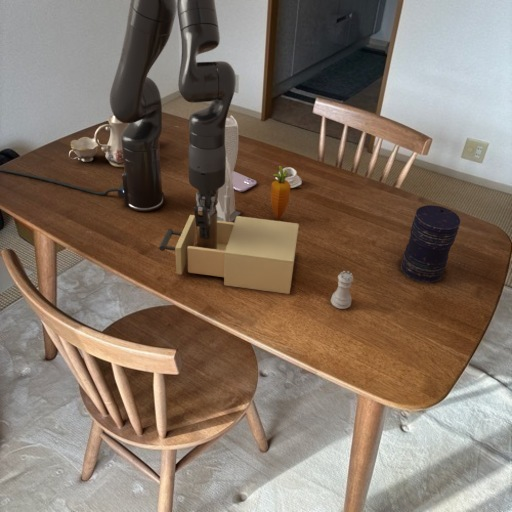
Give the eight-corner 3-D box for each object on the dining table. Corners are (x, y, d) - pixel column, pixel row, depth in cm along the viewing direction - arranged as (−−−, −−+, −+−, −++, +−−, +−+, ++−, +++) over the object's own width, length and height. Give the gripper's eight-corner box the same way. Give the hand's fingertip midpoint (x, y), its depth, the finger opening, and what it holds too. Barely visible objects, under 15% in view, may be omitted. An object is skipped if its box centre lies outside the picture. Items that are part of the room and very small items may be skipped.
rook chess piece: (328, 296, 116) (333, 267, 111) (348, 296, 116) (354, 267, 111) (332, 310, 112) (338, 281, 107) (353, 310, 113) (359, 281, 108)
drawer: (155, 271, 118) (153, 244, 114) (171, 237, 129) (170, 212, 124) (236, 281, 116) (237, 255, 112) (245, 247, 127) (246, 221, 123)
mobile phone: (220, 164, 160) (258, 180, 153) (220, 166, 161) (258, 183, 154) (202, 172, 155) (241, 190, 148) (202, 175, 156) (241, 193, 149)
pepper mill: (195, 259, 120) (194, 213, 113) (199, 248, 124) (199, 202, 116) (214, 262, 120) (214, 215, 112) (218, 251, 123) (219, 205, 116)
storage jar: (435, 288, 120) (454, 234, 111) (394, 272, 124) (409, 219, 115) (447, 266, 127) (466, 214, 118) (408, 252, 131) (423, 200, 122)
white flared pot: (305, 186, 156) (308, 171, 153) (292, 193, 151) (296, 178, 149) (282, 176, 159) (286, 161, 157) (270, 182, 155) (273, 167, 152)
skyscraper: (199, 217, 138) (198, 114, 121) (214, 203, 144) (215, 103, 127) (228, 226, 135) (231, 123, 119) (242, 211, 141) (247, 111, 125)
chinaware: (144, 141, 176) (137, 91, 167) (173, 154, 165) (167, 102, 156) (65, 164, 160) (53, 110, 151) (91, 181, 150) (80, 123, 141)
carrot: (285, 226, 137) (290, 174, 128) (266, 223, 138) (270, 171, 129) (288, 216, 141) (293, 165, 132) (270, 213, 142) (274, 162, 133)
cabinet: (224, 285, 117) (224, 252, 111) (235, 247, 128) (236, 215, 123) (289, 294, 116) (293, 261, 110) (295, 255, 127) (298, 223, 122)
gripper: (197, 145, 113) (198, 212, 124) (180, 176, 102) (182, 247, 112) (231, 149, 113) (229, 216, 123) (218, 181, 102) (217, 252, 112)
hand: (207, 231), depth 118 cm, fingers closed on pepper mill, 4 cm apart
